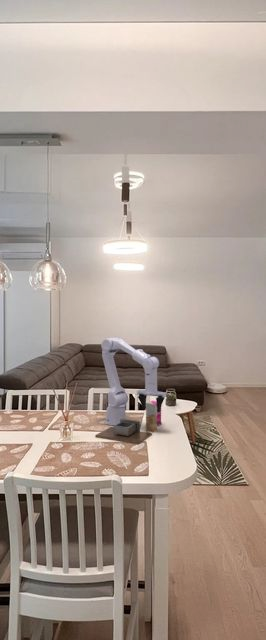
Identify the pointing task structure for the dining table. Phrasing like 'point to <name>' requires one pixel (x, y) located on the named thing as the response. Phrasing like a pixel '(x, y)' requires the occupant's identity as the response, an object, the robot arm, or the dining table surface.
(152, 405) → the supplement box
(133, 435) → the bracket
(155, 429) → the brown rectangular block
